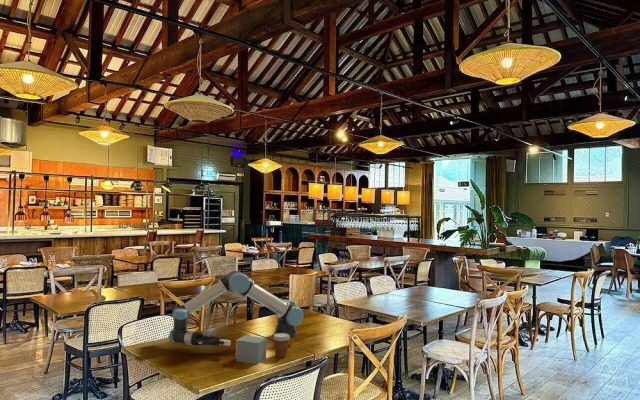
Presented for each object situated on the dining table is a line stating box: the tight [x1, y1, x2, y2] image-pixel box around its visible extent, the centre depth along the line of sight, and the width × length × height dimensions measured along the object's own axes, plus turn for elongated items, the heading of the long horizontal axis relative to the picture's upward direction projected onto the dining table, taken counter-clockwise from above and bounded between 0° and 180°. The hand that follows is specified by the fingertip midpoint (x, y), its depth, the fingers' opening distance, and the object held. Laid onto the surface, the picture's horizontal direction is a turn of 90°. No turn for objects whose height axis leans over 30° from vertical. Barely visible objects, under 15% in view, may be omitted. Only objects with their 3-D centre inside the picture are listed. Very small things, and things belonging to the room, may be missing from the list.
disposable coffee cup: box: [272, 333, 291, 359], centre depth 253 cm, size 10×10×12 cm
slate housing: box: [235, 335, 268, 365], centre depth 246 cm, size 14×10×11 cm
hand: (229, 343), depth 249 cm, fingers closed
